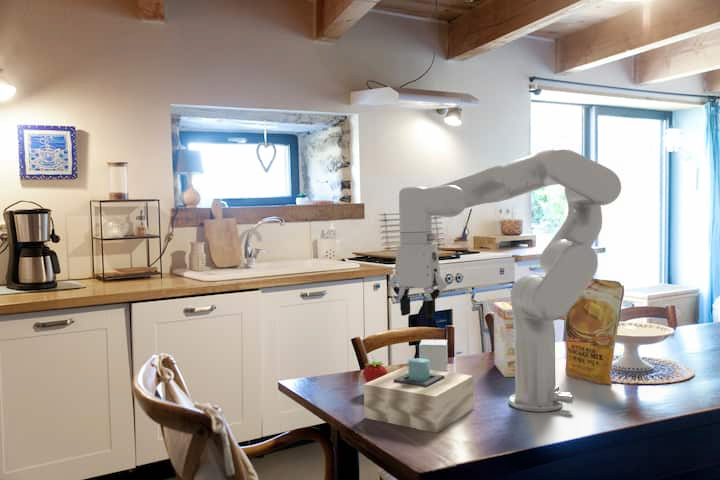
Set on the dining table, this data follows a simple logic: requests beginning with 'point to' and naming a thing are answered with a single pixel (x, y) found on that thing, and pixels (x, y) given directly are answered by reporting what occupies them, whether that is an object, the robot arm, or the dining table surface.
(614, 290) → the pancake mix bag
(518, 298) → the robot arm
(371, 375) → the strawberry
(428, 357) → the supplement box
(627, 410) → the dining table surface
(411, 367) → the teal peg
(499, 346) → the coffeecake box
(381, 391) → the collar block
